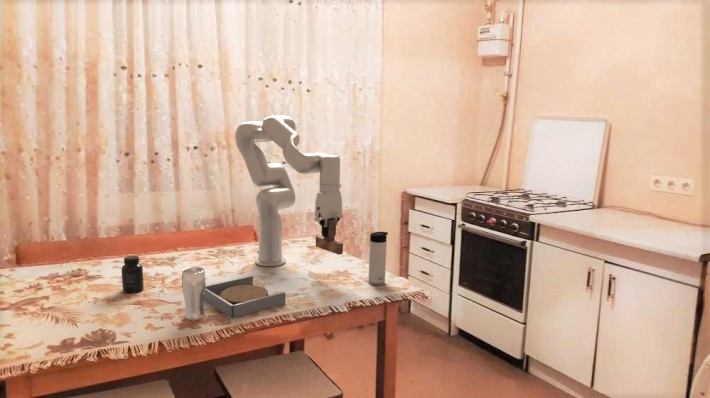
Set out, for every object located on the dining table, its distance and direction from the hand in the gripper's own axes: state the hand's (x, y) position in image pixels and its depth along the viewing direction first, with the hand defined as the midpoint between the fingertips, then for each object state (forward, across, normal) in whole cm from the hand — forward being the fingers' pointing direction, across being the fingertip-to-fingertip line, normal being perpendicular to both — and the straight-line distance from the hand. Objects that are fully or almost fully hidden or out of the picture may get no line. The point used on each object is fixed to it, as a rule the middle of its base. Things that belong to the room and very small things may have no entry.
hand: (328, 235), depth 195 cm
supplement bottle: (+18, +62, -32) cm, 72 cm away
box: (+17, +36, 0) cm, 40 cm away
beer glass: (+18, +55, +2) cm, 58 cm away
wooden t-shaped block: (+6, 0, 0) cm, 6 cm away
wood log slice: (+18, +36, 0) cm, 40 cm away
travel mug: (+18, -12, +15) cm, 26 cm away
